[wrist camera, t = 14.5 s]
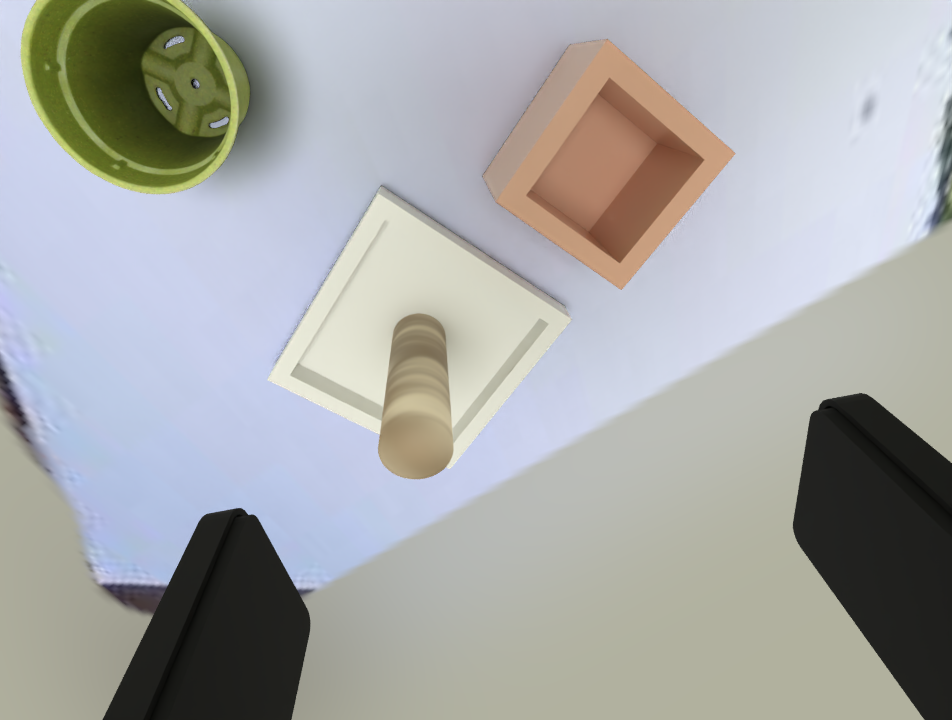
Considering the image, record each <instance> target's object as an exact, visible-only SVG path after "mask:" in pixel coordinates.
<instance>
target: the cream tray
mask: <svg viewBox="0 0 952 720" xmlns="http://www.w3.org/2000/svg"><path fill="white" fill-rule="evenodd" d="M417 313H421V314H427V315H430V316H432V317H434V318H435V319H437V320H438V321H439V322H440V323H441V325H442V326H443V328H444V331H445V335H446V349H447V363H448V377H449V391H450V405H451V419H452V433H453V455H452V458H451V460H450V462H449V464H448V465H447V466H446V467H447V468H449V469H451V467H452V466H453V465H454V464H455V462H456V461H457V460H458V459H459V457H460V456H461V455H462V454H463V453H464V451H465V450H466V449H467V448H468V446H469V445H470V444H471V443H472V442H473V440H474V439H475V438H476V437H477V435H478V434H479V433H480V432H481V431H482V429H483V428H484V427H485V426H486V424H487V423H488V422H489V421H490V419H491V418H492V417H493V416H494V415H495V413H496V412H497V411H498V410H499V408H500V407H501V406H502V405H503V404H504V402H505V401H506V400H507V399H508V397H509V396H510V395H511V394H512V392H513V391H514V390H515V389H516V388H517V386H518V385H519V384H520V383H521V381H522V380H523V379H524V378H525V377H526V375H527V374H528V373H529V372H530V370H531V369H532V368H533V367H534V366H535V364H536V363H537V362H538V361H539V359H540V358H541V357H542V356H543V354H544V353H545V352H546V351H547V350H548V348H549V347H550V346H551V345H552V343H553V342H554V341H555V340H556V339H557V337H558V336H559V335H560V334H561V332H562V331H563V330H564V329H565V327H566V326H567V325H568V324H569V323H570V321H571V320H572V319H571V317H570V315H569V313H568V312H567V310H566V308H565V306H564V305H562V304H561V303H559V302H558V301H556V300H555V299H553V298H552V297H550V296H549V295H547V294H546V293H544V292H543V291H541V290H540V289H538V288H536V287H535V286H533V285H532V284H530V283H529V282H527V281H526V280H524V279H523V278H521V277H520V276H518V275H517V274H515V273H514V272H512V271H511V270H509V269H508V268H506V267H505V266H503V265H501V264H500V263H498V262H497V261H495V260H494V259H492V258H491V257H489V256H488V255H486V254H485V253H483V252H482V251H480V250H479V249H477V248H476V247H474V246H473V245H471V244H470V243H468V242H466V241H465V240H463V239H462V238H460V237H459V236H457V235H456V234H454V233H453V232H451V231H450V230H448V229H447V228H445V227H444V226H442V225H441V224H439V223H438V222H436V221H435V220H433V219H432V218H430V217H428V216H427V215H425V214H424V213H422V212H421V211H419V210H418V209H416V208H415V207H413V206H412V205H410V204H409V203H407V202H406V201H404V200H403V199H401V198H400V197H398V196H397V195H395V194H393V193H392V192H390V191H389V190H387V189H386V188H384V187H383V186H381V187H380V188H379V190H378V192H377V193H376V195H375V197H374V198H373V200H372V202H371V203H370V205H369V207H368V208H367V210H366V212H365V213H364V215H363V217H362V219H361V220H360V222H359V224H358V225H357V227H356V229H355V230H354V232H353V234H352V235H351V237H350V239H349V240H348V242H347V244H346V245H345V247H344V249H343V251H342V252H341V254H340V256H339V257H338V259H337V261H336V262H335V264H334V266H333V267H332V269H331V271H330V272H329V274H328V276H327V277H326V279H325V281H324V283H323V284H322V286H321V288H320V289H319V291H318V293H317V294H316V296H315V298H314V299H313V301H312V303H311V304H310V306H309V308H308V309H307V311H306V313H305V314H304V316H303V318H302V320H301V321H300V323H299V325H298V326H297V328H296V330H295V331H294V333H293V335H292V336H291V338H290V340H289V341H288V343H287V345H286V346H285V348H284V350H283V352H282V353H281V355H280V357H279V358H278V360H277V362H276V363H275V365H274V367H273V369H272V371H271V373H270V375H269V377H268V379H267V380H268V381H271V382H273V383H275V384H277V385H279V386H281V387H283V388H285V389H287V390H289V391H291V392H293V393H295V394H297V395H299V396H301V397H303V398H305V399H307V400H309V401H312V402H314V403H316V404H318V405H320V406H322V407H324V408H326V409H328V410H330V411H332V412H334V413H336V414H338V415H340V416H342V417H344V418H346V419H348V420H350V421H353V422H355V423H357V424H359V425H361V426H363V427H365V428H367V429H369V430H371V431H373V432H375V433H377V434H379V435H380V430H381V422H382V414H383V406H384V399H385V391H386V383H387V376H388V368H389V360H390V352H391V345H392V337H393V331H394V328H395V326H396V325H397V323H398V322H399V321H400V320H401V319H403V318H404V317H406V316H408V315H411V314H417Z"/></svg>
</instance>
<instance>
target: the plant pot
mask: <svg viewBox="0 0 952 720" xmlns="http://www.w3.org/2000/svg"><path fill="white" fill-rule="evenodd" d="M175 36H182V37H184V39H185V41H184V42H183V43H178V44H175V45H173V46H171V47H167V49H164V45H165V43H166V42H167V41H168V40H169V39H171V38H172V37H175ZM21 63H22V69H23V75H24V79H25V83H26V87H27V90H28V93H29V96H30V99H31V101H32V104H33V106H34V108H35V110H36V112H37V114H38V116H39V117H40V119H41V121H42V122H43V124H44V125H45V127H46V128H47V129H48V131H49V132H50V134H51V135H52V137H53V138H54V139H55V140H56V141H57V143H58V144H59V145H60V146H61V147H62V148H63V149H64V150H65V151H66V152H67V153H68V154H69V155H70V156H71V157H72V158H73V159H74V160H75V161H77V162H78V163H79V164H80V165H82V166H83V167H84V168H86V169H87V170H88V171H90V172H91V173H93V174H95V175H97V176H98V177H100V178H102V179H104V180H106V181H108V182H110V183H112V184H114V185H116V186H119V187H122V188H124V189H128V190H132V191H136V192H140V193H146V194H169V193H175V192H180V191H183V190H186V189H189V188H192V187H194V186H196V185H198V184H200V183H201V182H203V181H204V180H206V179H207V178H208V177H210V176H211V175H212V174H213V173H214V172H215V171H216V170H217V169H218V168H219V167H220V166H221V165H222V164H223V162H224V161H225V160H226V158H227V157H228V155H229V153H230V151H231V149H232V147H233V145H234V142H235V139H236V136H237V132H238V127H239V125H240V124H241V122H242V121H243V119H244V118H245V116H246V113H247V110H248V106H249V99H250V86H249V81H248V77H247V74H246V71H245V69H244V67H243V64H242V63H241V61H240V59H239V58H238V56H237V55H236V53H235V52H234V51H233V50H232V49H231V47H230V46H229V45H228V44H227V43H226V42H225V41H224V40H222V39H221V38H220V37H218V36H217V35H215V34H214V33H212V32H211V31H210V29H209V28H208V27H207V26H206V25H205V23H204V22H203V21H202V20H201V19H200V18H199V17H198V16H197V15H196V14H195V13H194V12H193V11H192V10H191V9H190V8H189V7H188V6H187V5H186V4H185V3H183V2H182V1H181V0H36V2H35V4H34V5H33V7H32V9H31V11H30V13H29V15H28V16H27V19H26V22H25V25H24V29H23V33H22V39H21ZM193 79H196V80H197V81H198V82H199V84H200V87H199V88H198V89H195V88H193V87H192V85H191V81H192V80H193ZM157 87H159V88H161V90H162V93H163V94H164V96H165V98H166V100H167V102H168V103H169V105H170V106H171V107H172V110H168V109H166V107H165V106H164V104H163V103H162V101H161V100H160V99H159V98H158V95H157V93H156V88H157ZM224 117H229V121H228V123H227V124H226V125H224V126H221V127H218V128H210V127H209V123H213V122H217V121H219V120H221V119H223V118H224Z"/></svg>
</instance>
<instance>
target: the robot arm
mask: <svg viewBox="0 0 952 720" xmlns="http://www.w3.org/2000/svg"><path fill="white" fill-rule="evenodd" d="M793 530H794V534H795V537H796V539H797V542H798V544H799V545H800V547H801V548H802V550H803V551H804V553H805V554H806V555H807V556H808V558H809V560H810V561H811V562H812V563H813V565H814V567H815V568H816V569H817V571H818V572H819V574H820V575H821V576H822V578H823V579H824V580H825V582H826V583H827V585H828V586H829V588H830V589H831V590H832V592H833V593H834V594H835V596H836V597H837V599H838V600H839V601H840V603H841V604H842V605H843V607H844V608H845V610H846V611H847V613H848V614H849V615H850V617H851V618H852V619H853V621H854V622H855V624H856V625H857V626H858V628H859V629H860V631H861V632H862V633H863V635H864V636H865V638H866V639H867V640H868V642H869V643H870V645H871V646H872V647H873V649H874V650H875V652H876V653H877V654H878V656H879V657H880V658H881V660H882V661H883V663H884V664H885V665H886V667H887V668H888V670H889V671H890V672H891V674H892V675H893V677H894V678H895V679H896V681H897V682H898V683H899V685H900V686H901V688H902V689H903V690H904V692H905V693H906V695H907V696H908V697H909V699H910V700H911V702H912V703H913V704H914V706H915V707H916V708H917V710H918V711H919V713H920V714H921V716H922V717H923V718H924V719H925V720H952V463H951V462H950V461H948V460H947V459H946V458H945V457H943V456H942V455H941V454H940V453H939V452H937V451H936V450H935V449H934V448H932V447H931V446H930V445H929V444H928V443H926V442H925V441H924V440H923V439H922V438H920V437H919V436H918V435H917V434H916V433H914V432H913V431H912V430H911V429H910V428H908V427H907V426H906V425H904V424H903V423H902V422H901V421H900V420H899V419H897V418H896V417H895V416H893V414H891V413H890V412H889V411H888V410H886V409H885V408H884V407H883V406H882V405H880V404H879V403H878V402H877V401H876V400H874V399H873V398H872V397H870V396H868V395H867V394H862V393H859V394H854V395H848V396H843V397H837V398H832V399H827V400H824V401H823V402H822V403H821V404H820V406H819V409H818V410H817V411H814V412H813V413H812V414H811V417H810V421H809V427H808V434H807V440H806V447H805V452H804V458H803V465H802V471H801V478H800V483H799V490H798V496H797V502H796V509H795V514H794V521H793ZM309 633H310V617H309V612H308V610H307V608H306V606H305V604H304V602H303V600H302V598H301V597H300V595H299V593H298V591H297V589H296V587H295V586H294V584H293V582H292V580H291V578H290V577H289V575H288V573H287V571H286V569H285V567H284V566H283V564H282V562H281V560H280V558H279V556H278V555H277V553H276V551H275V549H274V547H273V545H272V544H271V542H270V540H269V538H268V536H267V534H266V533H265V531H264V529H263V527H262V525H261V523H260V522H259V520H258V518H257V517H256V516H255V515H248V514H247V513H246V511H245V510H243V509H241V508H236V509H231V510H226V511H220V512H215V513H209V514H206V515H204V516H203V517H202V518H201V520H200V521H199V523H198V525H197V527H196V529H195V531H194V533H193V535H192V537H191V539H190V541H189V543H188V546H187V548H186V550H185V552H184V554H183V556H182V558H181V560H180V562H179V564H178V566H177V568H176V570H175V572H174V574H173V576H172V578H171V580H170V582H169V585H168V587H167V589H166V591H165V593H164V595H163V597H162V599H161V601H160V603H159V605H158V607H157V609H156V611H155V613H154V615H153V617H152V619H151V622H150V624H149V626H148V628H147V630H146V632H145V634H144V636H143V638H142V640H141V642H140V644H139V646H138V648H137V650H136V652H135V654H134V657H133V658H132V661H131V663H130V665H129V667H128V669H127V671H126V673H125V675H124V677H123V679H122V681H121V683H120V685H119V687H118V689H117V691H116V694H115V695H114V698H113V700H112V702H111V704H110V706H109V708H108V710H107V712H106V714H105V716H104V718H103V720H291V719H292V714H293V709H294V705H295V700H296V694H297V690H298V685H299V680H300V676H301V671H302V667H303V661H304V657H305V652H306V647H307V643H308V638H309Z"/></svg>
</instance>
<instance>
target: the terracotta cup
mask: <svg viewBox="0 0 952 720" xmlns="http://www.w3.org/2000/svg"><path fill="white" fill-rule="evenodd" d="M734 155H735V153H734V152H733V151H732V150H731V149H730V148H729V147H728V146H727V145H725V144H724V143H723V142H722V141H721V140H720V139H719V138H718V137H717V136H715V135H714V134H713V133H712V132H711V131H710V130H709V129H708V128H706V127H705V126H704V125H703V124H702V123H701V122H700V121H699V120H698V119H696V118H695V117H694V116H693V115H692V114H691V113H690V112H689V111H687V110H686V109H685V108H684V107H683V106H682V105H681V104H680V103H678V102H677V101H676V100H675V99H674V98H673V97H672V96H671V95H670V94H668V93H667V92H666V91H665V90H664V89H663V88H662V87H661V86H659V85H658V84H657V83H656V82H655V81H654V80H653V79H652V78H651V77H649V76H648V75H647V74H646V73H645V72H644V71H643V70H642V69H640V68H639V67H638V66H637V65H636V64H635V63H634V62H633V61H632V60H630V59H629V58H628V57H627V56H626V55H625V54H624V53H623V52H621V51H620V50H619V49H618V48H617V47H616V46H615V45H614V44H612V43H611V42H610V41H609V40H608V39H603V40H596V41H590V42H583V43H576V44H570V45H569V46H568V48H567V49H566V51H565V52H564V54H563V55H562V57H561V58H560V60H559V61H558V63H557V64H556V66H555V67H554V69H553V70H552V72H551V73H550V75H549V76H548V78H547V79H546V81H545V82H544V84H543V85H542V87H541V88H540V90H539V91H538V93H537V94H536V96H535V97H534V99H533V100H532V102H531V103H530V105H529V107H528V108H527V110H526V111H525V113H524V114H523V116H522V117H521V119H520V120H519V122H518V123H517V125H516V126H515V128H514V129H513V131H512V132H511V134H510V135H509V137H508V138H507V140H506V141H505V143H504V144H503V146H502V147H501V149H500V150H499V152H498V153H497V155H496V156H495V158H494V159H493V161H492V162H491V164H490V165H489V167H488V168H487V170H486V171H485V173H484V174H483V178H484V180H485V182H486V184H487V186H488V188H489V190H490V192H491V194H492V196H493V198H494V200H495V202H496V203H498V204H499V205H501V206H502V207H503V208H505V209H506V210H508V211H509V212H511V213H512V214H513V215H515V216H516V217H518V218H519V219H521V220H522V221H523V222H525V223H526V224H528V225H529V226H531V227H532V228H533V229H535V230H536V231H538V232H539V233H541V234H542V235H543V236H545V237H546V238H548V239H549V240H551V241H552V242H553V243H555V244H556V245H558V246H559V247H561V248H562V249H563V250H565V251H566V252H568V253H569V254H571V255H572V256H573V257H575V258H576V259H578V260H579V261H581V262H582V263H583V264H585V265H586V266H588V267H589V268H591V269H592V270H593V271H595V272H596V273H598V274H599V275H601V276H602V277H603V278H605V279H606V280H608V281H609V282H611V283H612V284H613V285H615V286H616V287H618V288H619V289H621V290H622V289H623V288H624V286H625V285H626V284H627V283H628V282H629V280H630V279H631V278H632V277H633V276H634V274H635V273H636V272H637V271H638V270H639V268H640V267H641V266H642V265H643V264H644V262H645V261H646V260H647V259H648V258H649V256H650V255H651V254H652V253H653V252H654V250H655V249H656V248H657V247H658V246H659V244H660V243H661V242H662V241H663V240H664V238H665V237H666V236H667V235H668V234H669V232H670V231H671V230H672V229H673V228H674V226H675V225H676V224H677V223H678V222H679V220H680V219H681V218H682V217H683V216H684V215H685V213H686V212H687V211H688V210H689V209H690V207H691V206H692V205H693V204H694V203H695V201H696V200H697V199H698V198H699V197H700V195H701V194H702V193H703V192H704V191H705V189H706V188H707V187H708V186H709V185H710V183H711V182H712V181H713V180H714V179H715V177H716V176H717V175H718V174H719V173H720V171H721V170H722V169H723V168H724V167H725V165H726V164H727V163H728V162H729V161H730V159H731V158H732V157H733V156H734Z"/></svg>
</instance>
